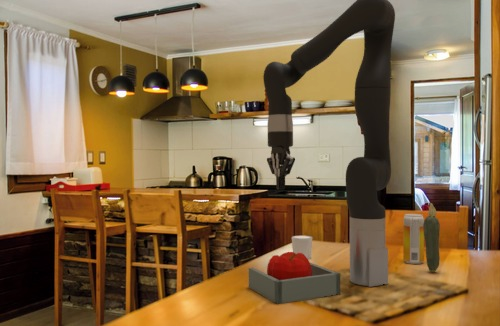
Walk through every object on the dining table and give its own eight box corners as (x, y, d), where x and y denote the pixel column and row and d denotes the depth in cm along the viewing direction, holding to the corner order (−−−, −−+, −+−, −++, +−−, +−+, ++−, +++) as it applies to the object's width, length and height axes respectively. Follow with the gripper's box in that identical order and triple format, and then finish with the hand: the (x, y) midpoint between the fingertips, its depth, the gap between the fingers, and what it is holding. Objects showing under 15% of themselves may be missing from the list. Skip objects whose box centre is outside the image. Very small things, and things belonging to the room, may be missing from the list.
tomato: (281, 281, 127) (281, 248, 126) (320, 289, 119) (320, 253, 119) (257, 290, 118) (256, 254, 118) (297, 299, 111) (297, 261, 111)
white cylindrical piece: (313, 260, 152) (313, 238, 152) (292, 260, 152) (292, 238, 152) (311, 255, 159) (311, 235, 159) (290, 255, 159) (290, 235, 159)
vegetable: (440, 274, 133) (441, 203, 133) (424, 274, 134) (424, 203, 134) (437, 271, 137) (438, 202, 137) (422, 270, 138) (422, 202, 138)
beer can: (421, 260, 151) (421, 213, 151) (426, 264, 145) (426, 216, 145) (401, 260, 152) (401, 213, 152) (405, 264, 146) (405, 215, 146)
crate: (340, 294, 115) (340, 273, 114) (277, 304, 107) (277, 282, 107) (306, 279, 128) (306, 261, 128) (248, 287, 121) (248, 267, 121)
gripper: (303, 129, 136) (303, 190, 136) (279, 132, 148) (280, 187, 148) (280, 129, 133) (281, 191, 133) (258, 131, 144) (259, 188, 145)
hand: (280, 189), depth 140 cm, fingers closed
